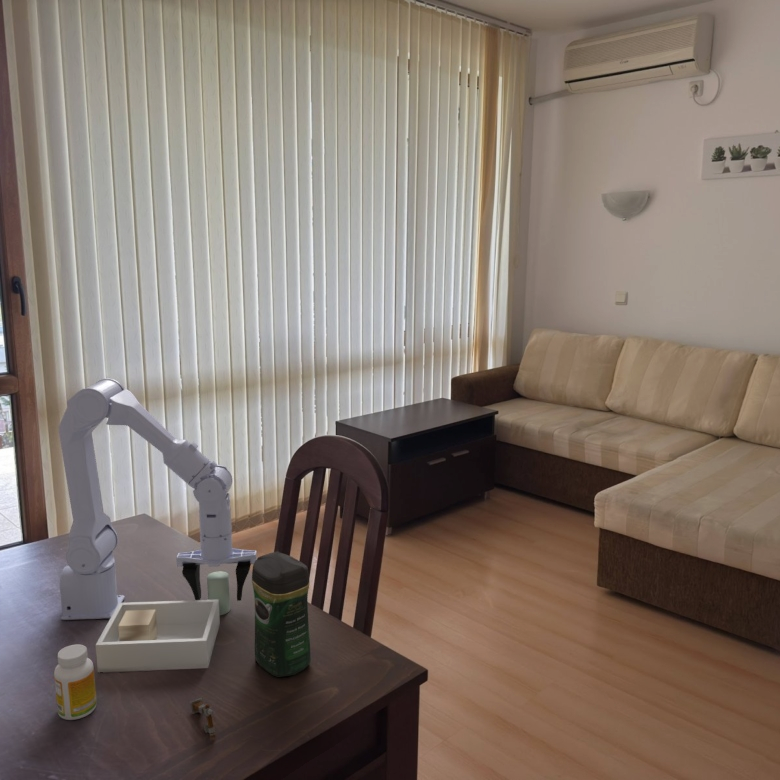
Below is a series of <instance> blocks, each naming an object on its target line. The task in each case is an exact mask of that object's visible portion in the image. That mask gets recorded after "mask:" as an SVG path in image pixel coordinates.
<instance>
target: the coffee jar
mask: <svg viewBox="0 0 780 780" xmlns="http://www.w3.org/2000/svg"><path fill="white" fill-rule="evenodd" d="M310 582H311V581H310V575H309V568H308V566H307V565H306V564H305V563H303V562H302V561H300V560H298V559H297V558H295V557H294V556H292V555H288V554H286V553H283V552H280V551H277V550H276V551H273V552H270V553H267V554H263V555H260V556H257V560H256V561H255V562H254V564H252V571H251V583H252V588H253V595H254V643H253V645H254V659H255V661H256V662H257V663H258V665H259V666H260V667H261V668H262V669H263V670H265V672H267V673H268V674H270V675H272V676H273V677H274V676H275V677H277V678H278V677H289V676H294V675H297V674H298V673H301V672H302V671H304V670H305V669H306V668H307V667H308V666H309V665H310V664H311V658H312V656H311V640H310V627H309V610H308V608H309V607H308V596H309V589H310Z"/></svg>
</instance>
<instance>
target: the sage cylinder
mask: <svg viewBox="0 0 780 780" xmlns="http://www.w3.org/2000/svg"><path fill="white" fill-rule="evenodd" d="M206 585H207V588H206V589H207V600H215V599H219V616H224V615H226V614H227V613H230V611H231V601H230V600H231V598H230V597H231V596H230V593H231V592H230V575H229V573H228V572H226V571H221V570H219V571H213V572H210V573H208V574H207V576H206Z"/></svg>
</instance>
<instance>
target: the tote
mask: <svg viewBox="0 0 780 780" xmlns="http://www.w3.org/2000/svg"><path fill="white" fill-rule="evenodd" d="M130 610H156V623H157V637H156V640H143V641H119V629H118V625H119V623H120V622H121V620H122V618H123V616H124V614H125V612H126V611H130ZM220 618H221V617H220V615H219V599H215V600H208V599H200V600H195V599H194V600H193V599H192V600H191V599H190V600H187V599H186V600H164V601H163V600H162V601H160V600H159V601H132V602H131V601H130V602H122V603H119V604H118V606H117V607H116V609H115V611H114V613H113V615H112V616H111V618H109V620H108V622H107V624H106V625H105V627H104V629H103V630H102V633H101V635H100V636H99V638H98V640H97V641H96V644H95V654H96V655H95V656H96V666H97V667H96V668H97V673H98V674H100V672H103V673H120V672H121V673H122V672H123V673H124V672H145V671H167V670H168V671H169V670H170V671H171V670H191V669H193V670H194V669H208V668H209V667H210V662H211V659H212V654H213V651H214V647H215V643H216V640H217V636H218V632H219V628H220V625H221V623H220V621H221V620H220Z"/></svg>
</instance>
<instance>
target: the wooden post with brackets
mask: <svg viewBox="0 0 780 780" xmlns="http://www.w3.org/2000/svg"><path fill="white" fill-rule="evenodd" d="M203 703H204V702H203V699H202V697H200V698H197V699H194V700H191V701H190V700H189V706H190V713H191V714H192V715H193V714H197V713H199V714H201V715H204V716H205V717H206V721H207V723H203V724H202V726H203V730H204V732H205V734H207V733H209V737H210V739H214V738H216V733H215V732H216V727H215V726H214V721H213V717H212V715H214V709H213V707H212V706H210V704H206V703H204V704H203Z"/></svg>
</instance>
